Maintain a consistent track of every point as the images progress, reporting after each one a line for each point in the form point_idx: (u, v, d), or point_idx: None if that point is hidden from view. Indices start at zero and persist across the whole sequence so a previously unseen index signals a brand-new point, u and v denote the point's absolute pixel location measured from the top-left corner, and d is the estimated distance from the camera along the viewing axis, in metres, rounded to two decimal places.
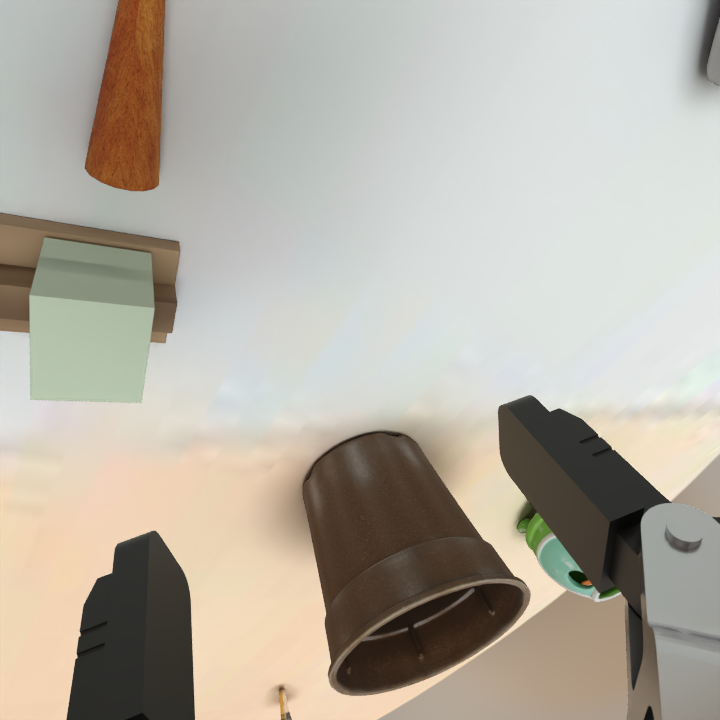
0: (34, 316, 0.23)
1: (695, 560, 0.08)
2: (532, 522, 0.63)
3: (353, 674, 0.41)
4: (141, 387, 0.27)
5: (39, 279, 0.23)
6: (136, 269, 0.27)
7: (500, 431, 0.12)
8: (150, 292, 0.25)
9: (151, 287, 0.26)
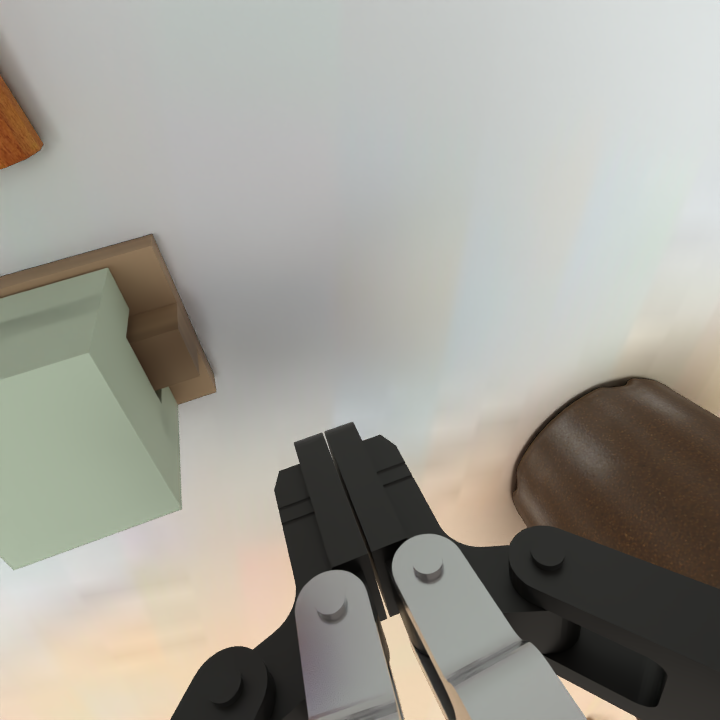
0: None
1: (447, 584, 0.08)
2: None
3: None
4: (165, 487, 0.15)
5: None
6: (75, 301, 0.15)
7: None
8: (88, 327, 0.14)
9: (93, 318, 0.14)
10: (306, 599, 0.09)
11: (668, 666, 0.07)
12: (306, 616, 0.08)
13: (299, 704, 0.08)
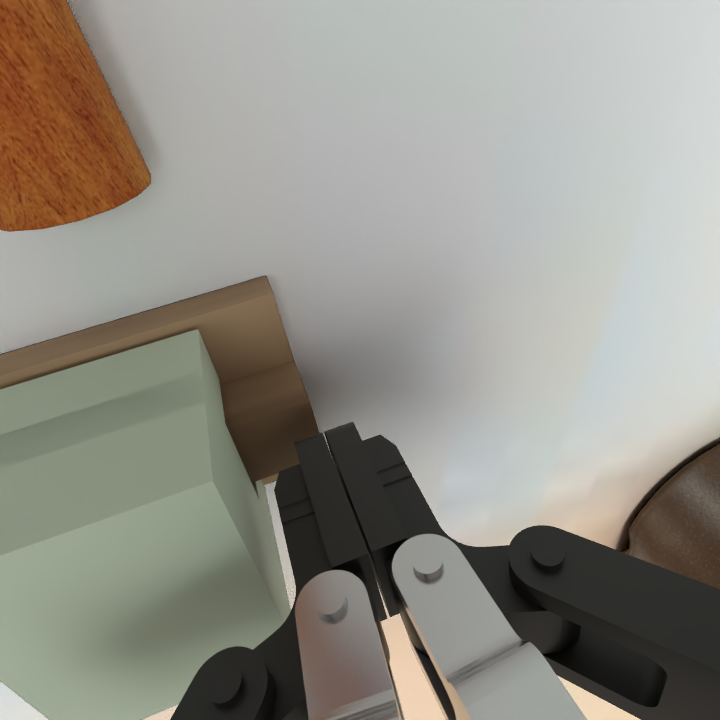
0: None
1: (447, 584, 0.08)
2: None
3: None
4: None
5: None
6: (166, 383, 0.11)
7: None
8: (200, 432, 0.10)
9: (201, 416, 0.10)
10: (306, 599, 0.09)
11: (668, 666, 0.07)
12: (306, 616, 0.08)
13: (299, 704, 0.08)
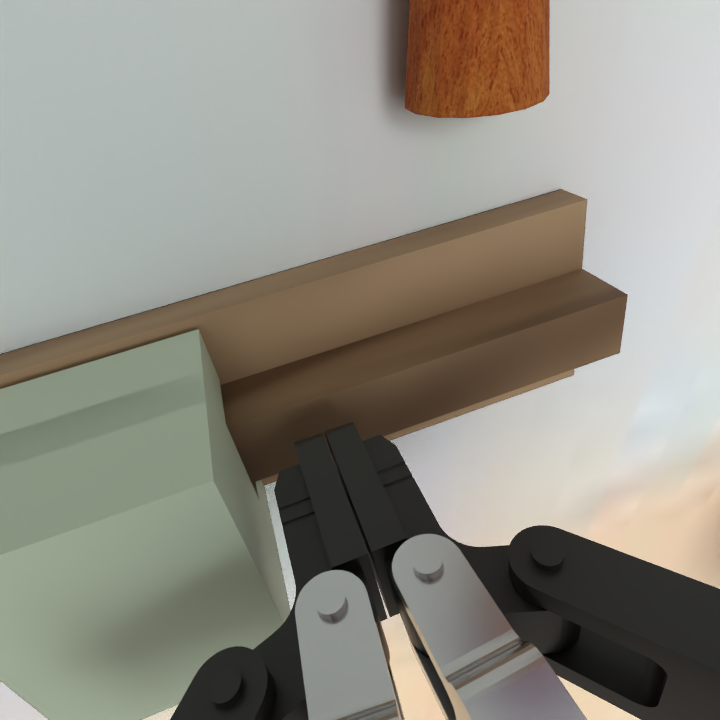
0: None
1: (447, 584, 0.08)
2: None
3: None
4: None
5: None
6: (167, 383, 0.11)
7: (331, 455, 0.13)
8: (200, 432, 0.10)
9: (202, 416, 0.10)
10: (306, 599, 0.09)
11: (668, 666, 0.07)
12: (306, 616, 0.08)
13: (299, 704, 0.08)
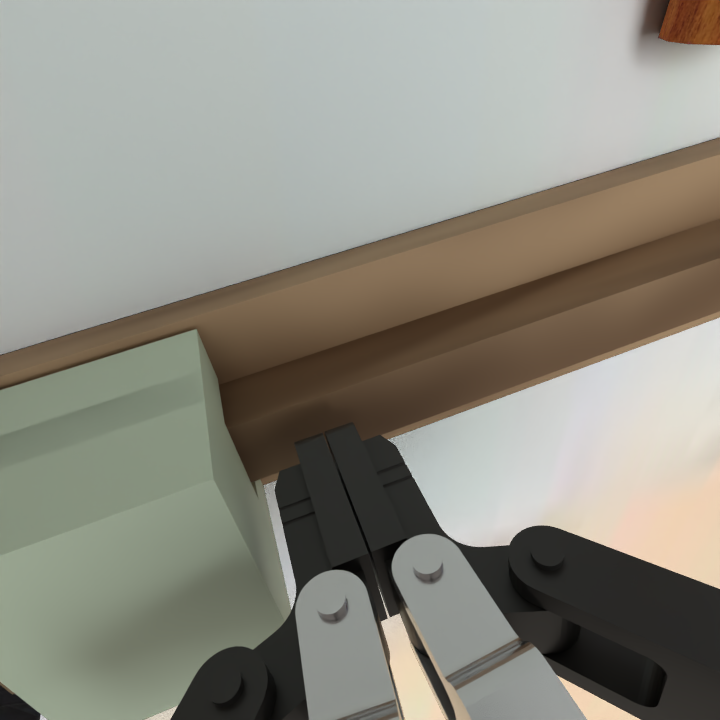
0: None
1: (447, 585, 0.08)
2: None
3: None
4: None
5: None
6: (166, 383, 0.11)
7: (331, 456, 0.13)
8: (199, 431, 0.10)
9: (201, 415, 0.10)
10: (306, 599, 0.09)
11: (668, 666, 0.07)
12: (306, 616, 0.08)
13: (299, 704, 0.08)
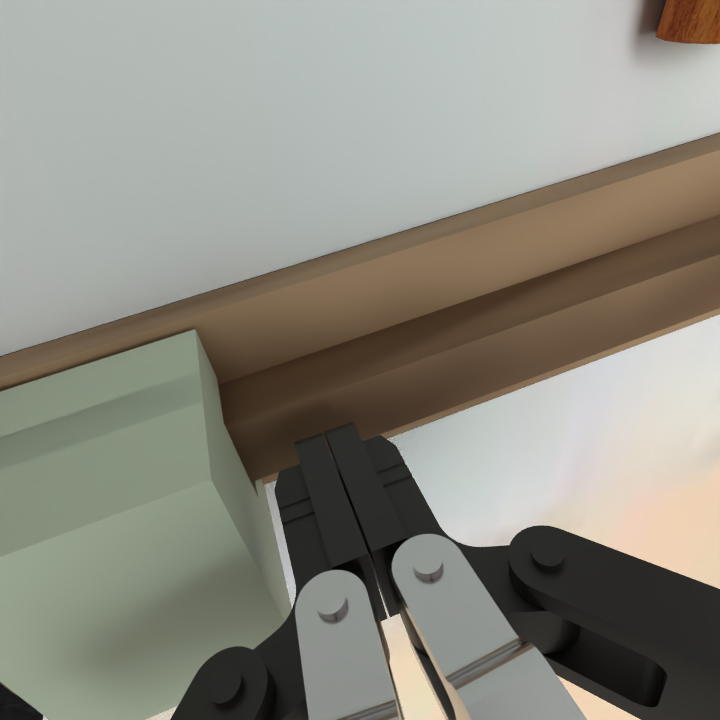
0: None
1: (447, 584, 0.08)
2: None
3: None
4: None
5: None
6: (164, 383, 0.11)
7: (331, 456, 0.13)
8: (198, 432, 0.10)
9: (199, 415, 0.10)
10: (306, 599, 0.09)
11: (668, 666, 0.07)
12: (306, 616, 0.08)
13: (299, 704, 0.08)
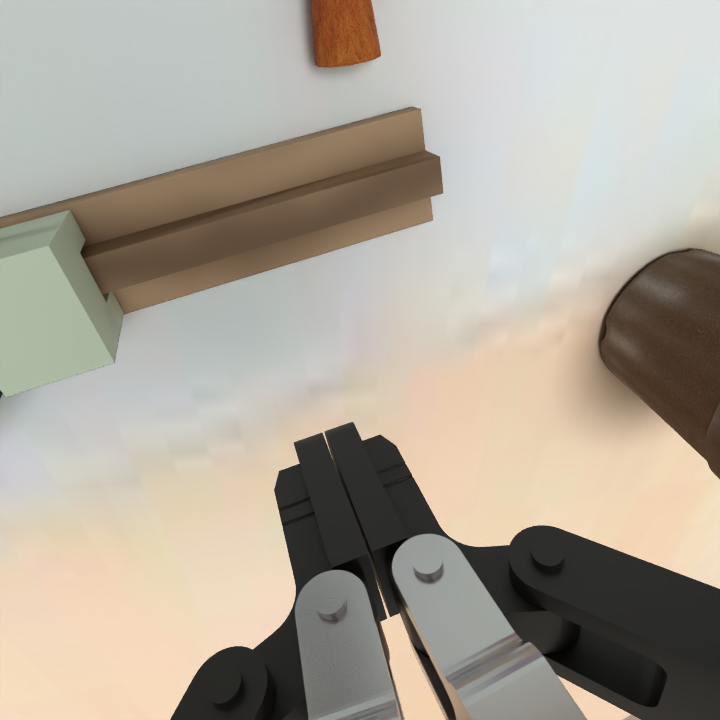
0: None
1: (447, 584, 0.08)
2: None
3: None
4: (102, 344, 0.24)
5: None
6: (45, 226, 0.24)
7: None
8: (50, 236, 0.22)
9: (54, 232, 0.23)
10: (306, 599, 0.09)
11: (668, 666, 0.07)
12: (306, 616, 0.08)
13: (299, 704, 0.08)
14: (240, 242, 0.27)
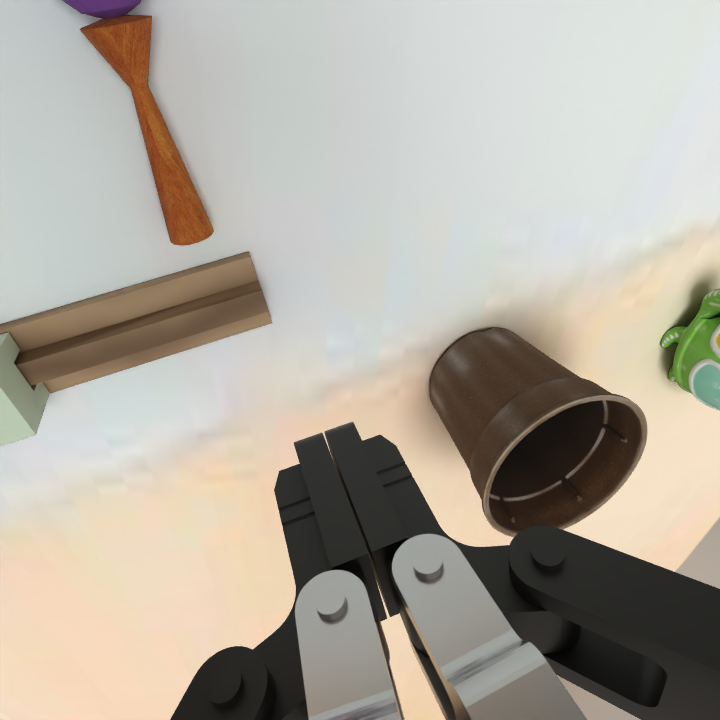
0: None
1: (447, 585, 0.08)
2: (674, 365, 0.63)
3: (519, 522, 0.49)
4: (26, 424, 0.38)
5: None
6: None
7: None
8: None
9: None
10: (306, 599, 0.09)
11: (668, 666, 0.07)
12: (306, 616, 0.08)
13: (299, 704, 0.08)
14: (124, 349, 0.41)
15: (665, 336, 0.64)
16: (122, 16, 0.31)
